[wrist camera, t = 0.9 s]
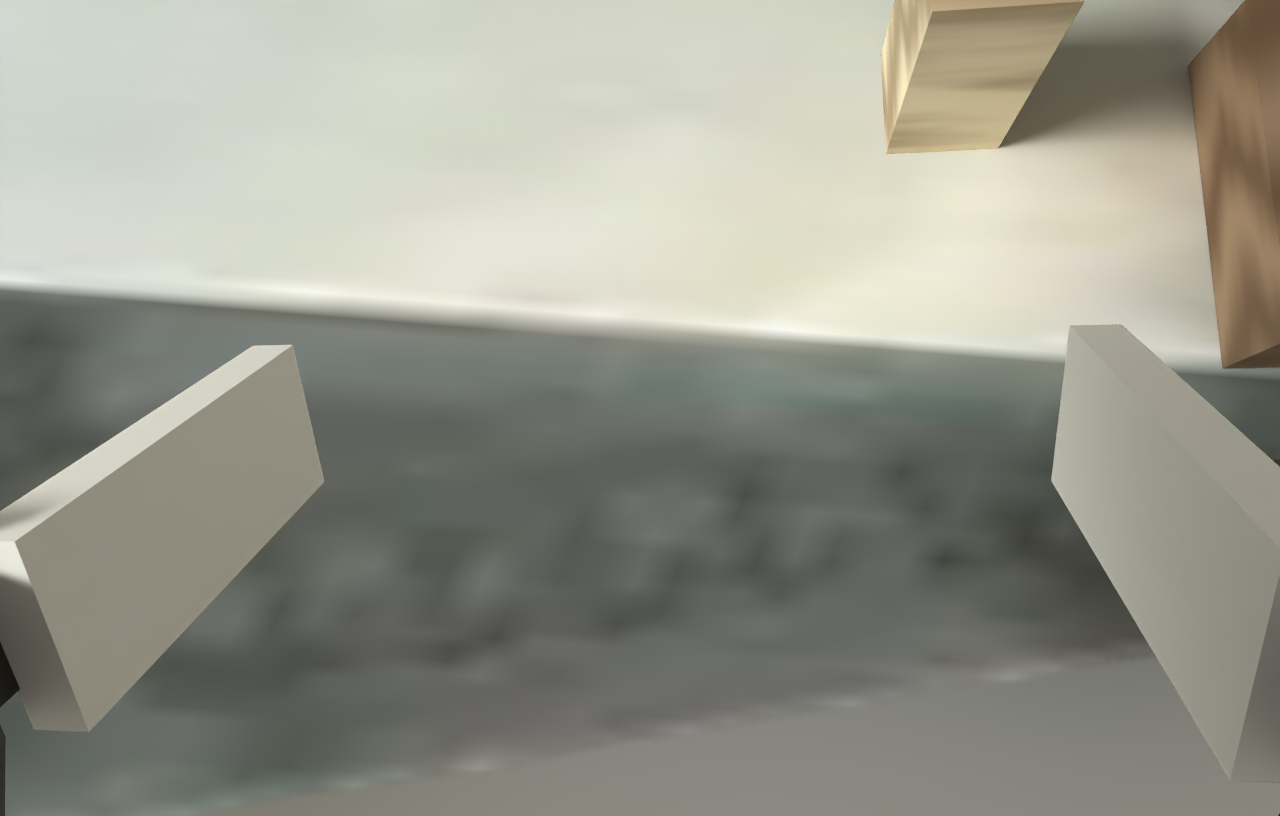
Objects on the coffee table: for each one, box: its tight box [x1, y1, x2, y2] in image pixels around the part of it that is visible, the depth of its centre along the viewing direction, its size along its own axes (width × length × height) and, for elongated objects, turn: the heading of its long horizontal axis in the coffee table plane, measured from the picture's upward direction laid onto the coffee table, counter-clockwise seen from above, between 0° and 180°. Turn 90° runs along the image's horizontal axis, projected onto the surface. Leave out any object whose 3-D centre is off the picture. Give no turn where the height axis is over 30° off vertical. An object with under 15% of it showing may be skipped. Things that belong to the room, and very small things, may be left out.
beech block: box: [881, 0, 1084, 154], centre depth 37 cm, size 5×5×11 cm
